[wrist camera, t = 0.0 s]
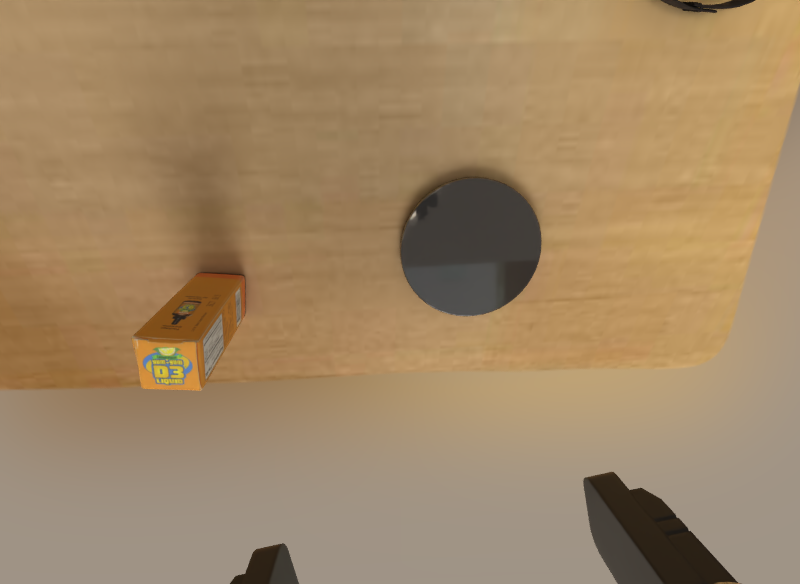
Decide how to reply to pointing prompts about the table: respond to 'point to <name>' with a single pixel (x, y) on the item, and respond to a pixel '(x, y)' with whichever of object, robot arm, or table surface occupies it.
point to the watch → (735, 1)
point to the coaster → (470, 246)
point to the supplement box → (190, 333)
